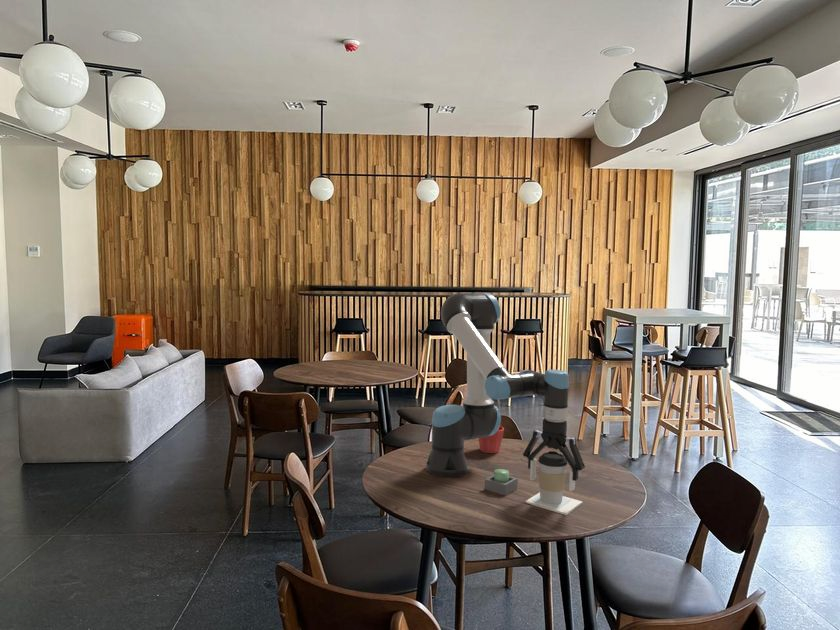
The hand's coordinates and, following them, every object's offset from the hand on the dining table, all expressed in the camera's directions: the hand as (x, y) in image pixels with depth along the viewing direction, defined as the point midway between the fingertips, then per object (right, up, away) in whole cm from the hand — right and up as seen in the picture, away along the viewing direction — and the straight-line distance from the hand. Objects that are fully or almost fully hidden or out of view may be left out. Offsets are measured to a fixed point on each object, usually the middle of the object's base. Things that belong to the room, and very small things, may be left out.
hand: (551, 484), depth 192 cm
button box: (-15, -5, +11) cm, 19 cm away
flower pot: (-14, -1, +52) cm, 54 cm away
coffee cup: (0, -5, +1) cm, 5 cm away
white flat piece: (+1, -6, 0) cm, 6 cm away
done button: (-15, -3, +11) cm, 18 cm away
